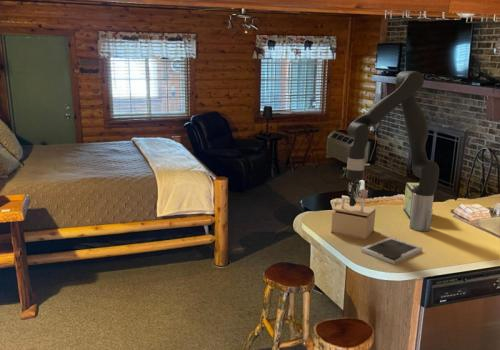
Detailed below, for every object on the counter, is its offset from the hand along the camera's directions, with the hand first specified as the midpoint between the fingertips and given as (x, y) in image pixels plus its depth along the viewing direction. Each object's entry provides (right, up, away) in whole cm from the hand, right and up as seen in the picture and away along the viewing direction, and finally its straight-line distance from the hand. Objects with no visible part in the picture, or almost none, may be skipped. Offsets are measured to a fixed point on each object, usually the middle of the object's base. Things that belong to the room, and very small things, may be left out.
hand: (352, 205), depth 215 cm
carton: (+1, -13, +6) cm, 14 cm away
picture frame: (+13, -19, -15) cm, 28 cm away
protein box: (+40, -7, +32) cm, 52 cm away
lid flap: (+2, -2, +4) cm, 5 cm away
